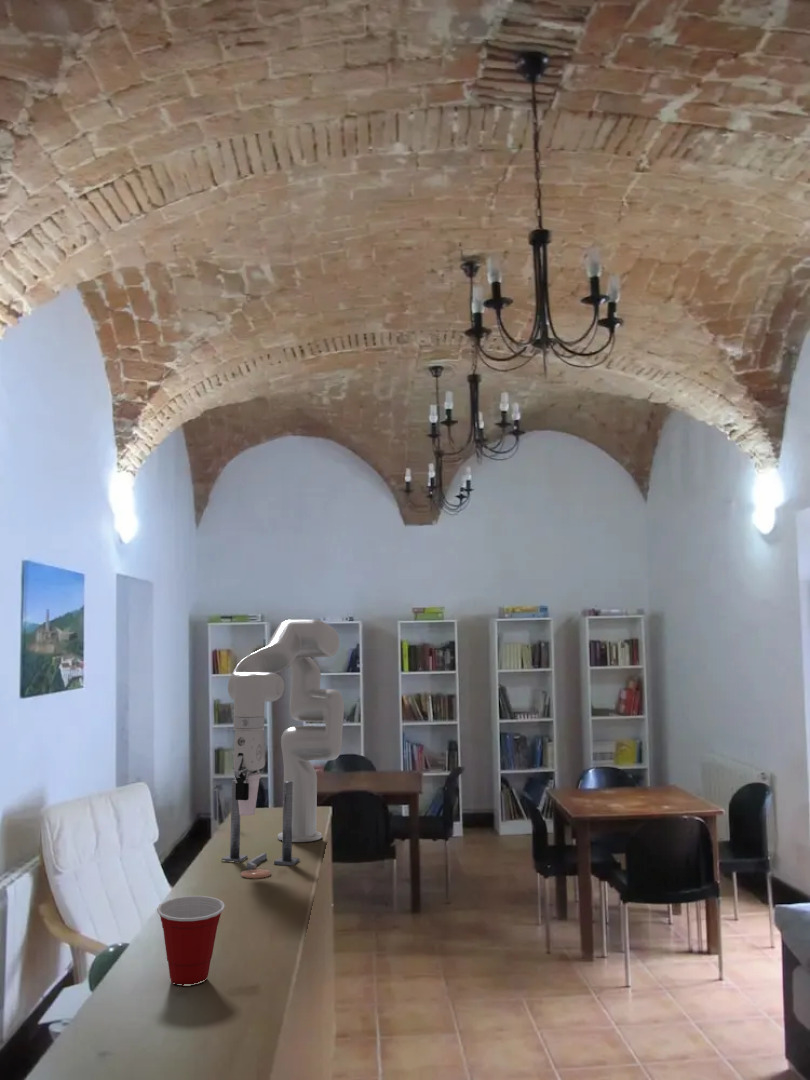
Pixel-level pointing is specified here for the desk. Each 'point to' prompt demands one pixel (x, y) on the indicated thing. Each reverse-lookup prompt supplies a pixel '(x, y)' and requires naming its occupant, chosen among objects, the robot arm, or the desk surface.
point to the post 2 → (287, 827)
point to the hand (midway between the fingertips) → (247, 796)
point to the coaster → (256, 873)
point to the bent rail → (256, 861)
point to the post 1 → (235, 830)
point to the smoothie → (250, 795)
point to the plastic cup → (190, 936)
